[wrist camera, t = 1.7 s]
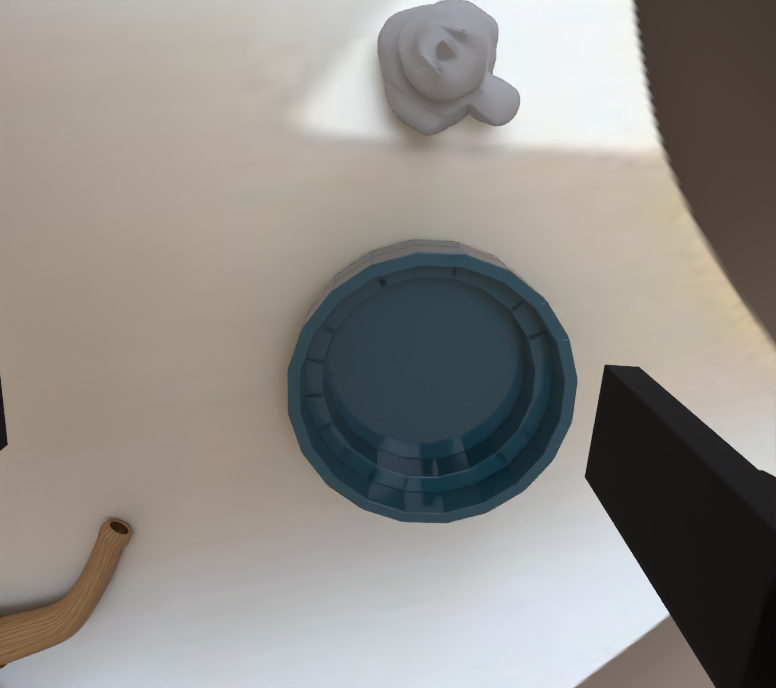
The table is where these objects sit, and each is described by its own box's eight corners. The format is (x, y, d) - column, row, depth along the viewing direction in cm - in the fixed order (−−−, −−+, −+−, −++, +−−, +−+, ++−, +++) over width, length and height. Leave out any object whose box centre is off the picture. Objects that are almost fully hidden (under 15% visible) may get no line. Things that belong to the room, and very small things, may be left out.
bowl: (298, 233, 32) (287, 246, 28) (565, 243, 33) (594, 259, 28) (298, 474, 36) (287, 519, 32) (536, 481, 37) (558, 527, 32)
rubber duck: (414, -21, 29) (428, -79, 22) (535, 65, 30) (589, 39, 23) (351, 89, 31) (342, 72, 23) (468, 168, 32) (498, 176, 24)
